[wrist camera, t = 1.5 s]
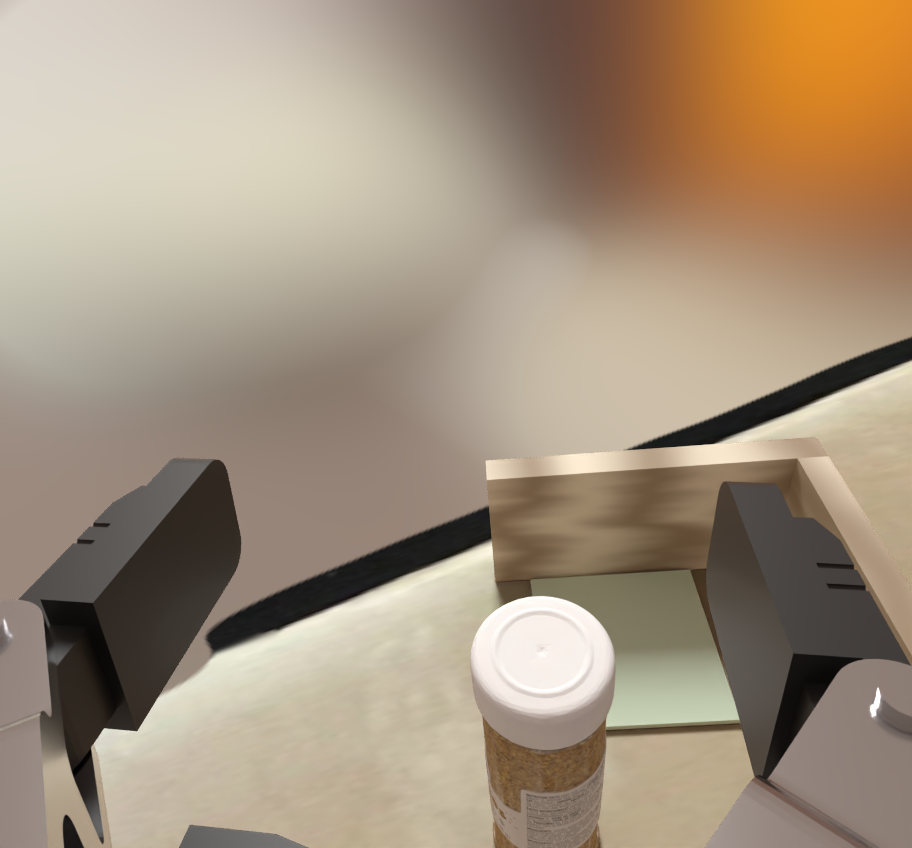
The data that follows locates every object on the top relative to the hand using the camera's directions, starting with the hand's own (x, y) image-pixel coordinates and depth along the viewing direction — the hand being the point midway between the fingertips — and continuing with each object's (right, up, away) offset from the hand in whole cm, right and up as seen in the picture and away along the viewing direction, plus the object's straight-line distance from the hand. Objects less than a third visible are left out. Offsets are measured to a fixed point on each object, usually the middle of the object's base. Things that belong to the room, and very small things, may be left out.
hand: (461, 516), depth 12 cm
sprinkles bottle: (+4, -16, +19) cm, 25 cm away
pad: (+9, -10, +26) cm, 29 cm away
